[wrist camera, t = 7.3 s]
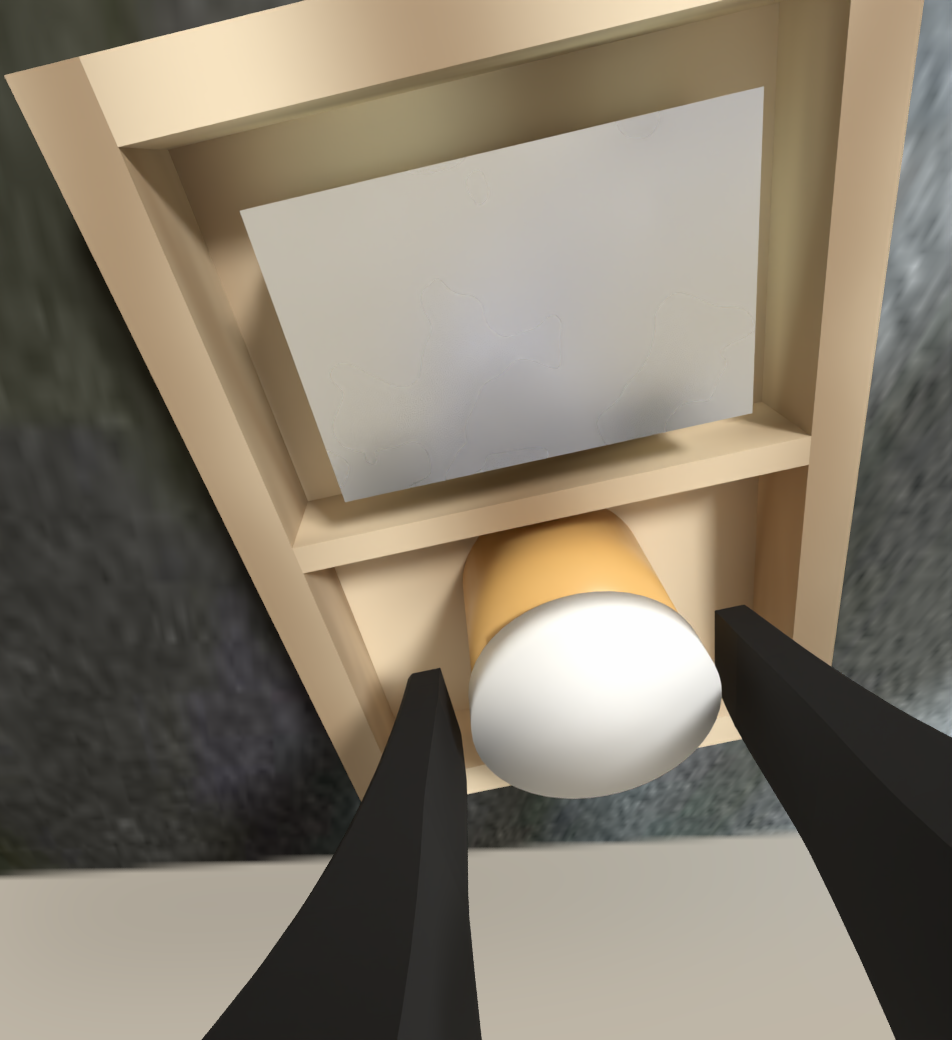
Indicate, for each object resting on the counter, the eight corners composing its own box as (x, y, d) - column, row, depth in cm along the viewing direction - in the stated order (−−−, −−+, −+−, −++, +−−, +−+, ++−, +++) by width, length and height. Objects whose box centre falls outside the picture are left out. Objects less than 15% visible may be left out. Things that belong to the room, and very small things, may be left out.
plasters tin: (689, 102, 10) (764, 86, 8) (693, 369, 12) (752, 412, 10) (277, 200, 10) (239, 211, 8) (357, 443, 13) (345, 502, 11)
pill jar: (642, 477, 14) (727, 598, 10) (646, 631, 16) (716, 776, 12) (441, 514, 14) (449, 648, 10) (475, 661, 16) (491, 815, 12)
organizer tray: (826, -87, 10) (946, -160, 7) (774, 654, 18) (823, 722, 16) (94, 94, 10) (4, 74, 8) (373, 736, 18) (367, 813, 16)
